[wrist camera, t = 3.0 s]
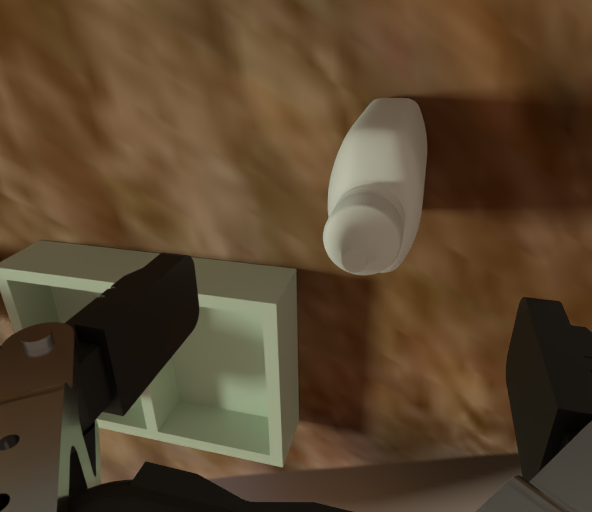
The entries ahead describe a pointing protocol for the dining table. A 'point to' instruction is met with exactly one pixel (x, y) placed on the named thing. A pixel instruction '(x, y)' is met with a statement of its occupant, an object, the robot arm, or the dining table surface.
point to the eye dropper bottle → (377, 188)
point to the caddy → (186, 346)
